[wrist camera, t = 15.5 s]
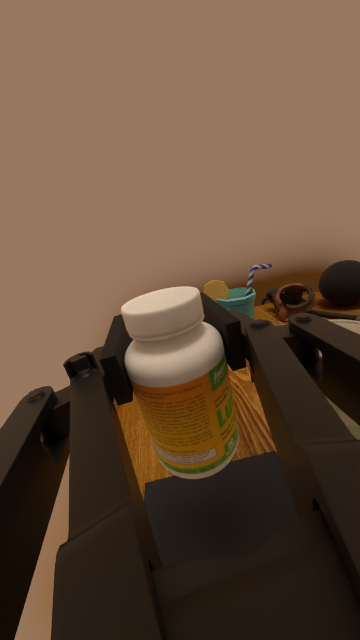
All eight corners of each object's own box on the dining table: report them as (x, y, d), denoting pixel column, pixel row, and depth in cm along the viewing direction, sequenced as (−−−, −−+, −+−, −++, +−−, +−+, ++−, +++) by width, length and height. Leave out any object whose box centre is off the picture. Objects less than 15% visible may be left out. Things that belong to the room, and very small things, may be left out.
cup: (265, 325, 51) (259, 259, 46) (287, 338, 44) (283, 262, 38) (208, 343, 49) (194, 276, 44) (221, 359, 42) (207, 282, 37)
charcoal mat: (146, 486, 23) (144, 482, 23) (275, 454, 24) (275, 450, 23) (128, 856, 9) (123, 856, 9) (448, 773, 9) (451, 771, 9)
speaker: (311, 301, 58) (310, 262, 54) (352, 293, 56) (355, 253, 53) (333, 315, 48) (334, 269, 45) (384, 306, 47) (389, 258, 43)
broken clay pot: (322, 308, 53) (325, 285, 47) (302, 338, 51) (303, 317, 45) (275, 293, 61) (272, 271, 55) (256, 319, 59) (251, 299, 53)
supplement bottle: (246, 481, 12) (217, 305, 8) (148, 485, 12) (84, 328, 9) (234, 404, 16) (212, 275, 13) (164, 411, 17) (126, 293, 14)
